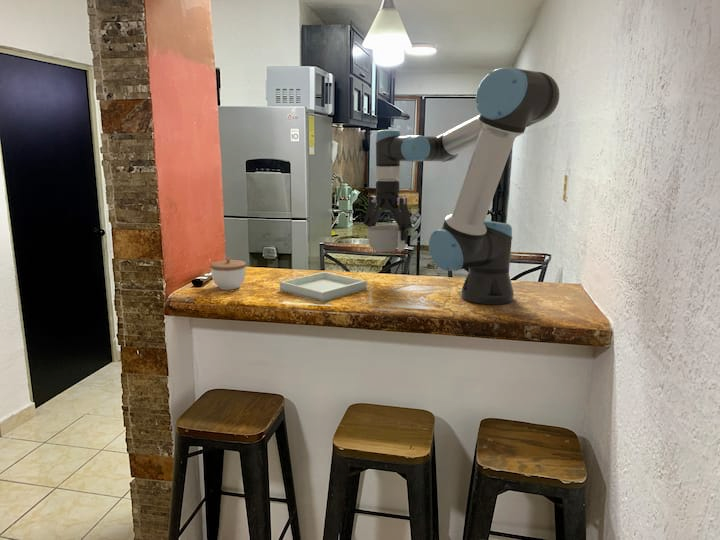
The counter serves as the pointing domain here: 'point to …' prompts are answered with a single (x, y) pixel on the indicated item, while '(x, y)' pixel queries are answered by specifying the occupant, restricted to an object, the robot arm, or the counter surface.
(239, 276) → the lidded jar
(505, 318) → the counter surface
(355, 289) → the tray
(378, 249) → the teacup
